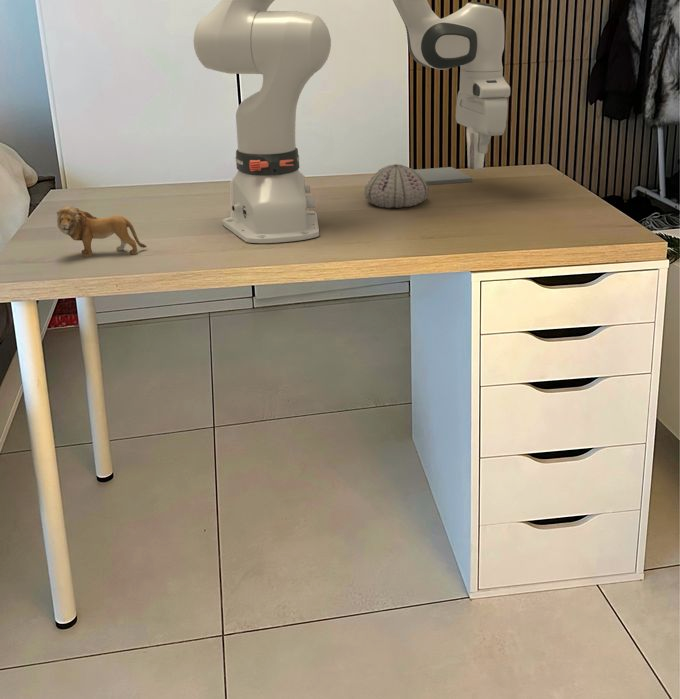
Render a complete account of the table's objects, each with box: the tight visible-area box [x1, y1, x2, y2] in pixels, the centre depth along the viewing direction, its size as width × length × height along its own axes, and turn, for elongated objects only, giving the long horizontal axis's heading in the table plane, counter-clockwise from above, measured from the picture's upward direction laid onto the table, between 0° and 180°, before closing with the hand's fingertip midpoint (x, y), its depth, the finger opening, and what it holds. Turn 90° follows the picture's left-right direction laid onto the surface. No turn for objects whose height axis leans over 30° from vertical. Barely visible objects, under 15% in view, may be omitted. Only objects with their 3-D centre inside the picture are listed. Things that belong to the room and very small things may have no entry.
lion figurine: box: [56, 206, 147, 259], centre depth 160 cm, size 15×5×9 cm, turn 107°
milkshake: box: [465, 126, 486, 170], centre depth 196 cm, size 4×5×10 cm
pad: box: [413, 166, 473, 186], centre depth 213 cm, size 13×13×1 cm
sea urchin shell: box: [364, 163, 429, 209], centre depth 191 cm, size 13×14×8 cm
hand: (477, 150), depth 197 cm, fingers closed on milkshake, 4 cm apart
